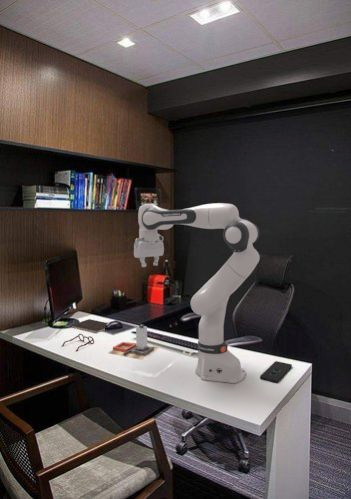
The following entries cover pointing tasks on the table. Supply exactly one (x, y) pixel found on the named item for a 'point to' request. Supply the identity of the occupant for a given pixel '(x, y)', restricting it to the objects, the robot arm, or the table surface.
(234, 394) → the table surface
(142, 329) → the lock bolt
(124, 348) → the socket
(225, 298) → the robot arm
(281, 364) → the smart home device
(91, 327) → the hardcover book
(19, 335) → the table surface
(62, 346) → the glasses
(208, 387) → the table surface
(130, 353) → the flat brown board
